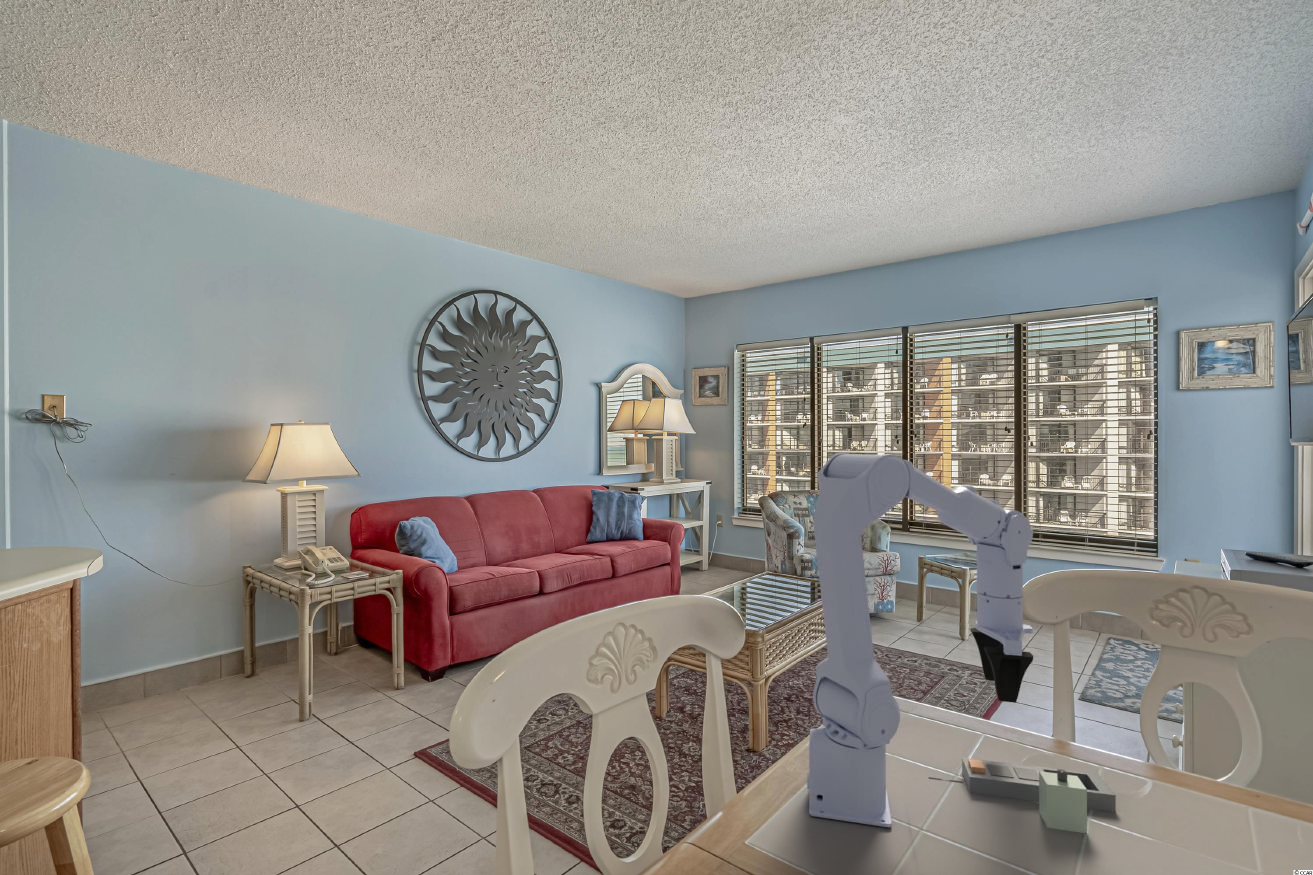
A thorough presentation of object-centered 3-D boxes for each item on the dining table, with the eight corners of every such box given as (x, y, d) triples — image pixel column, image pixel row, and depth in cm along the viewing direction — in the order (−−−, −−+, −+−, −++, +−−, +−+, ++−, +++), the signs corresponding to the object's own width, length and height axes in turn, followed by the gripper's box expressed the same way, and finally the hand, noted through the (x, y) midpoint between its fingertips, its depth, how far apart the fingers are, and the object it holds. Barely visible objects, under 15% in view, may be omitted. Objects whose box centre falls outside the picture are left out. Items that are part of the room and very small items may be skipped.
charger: (1047, 836, 74) (1047, 775, 74) (1039, 821, 76) (1039, 762, 76) (1087, 842, 72) (1086, 780, 72) (1077, 826, 75) (1077, 767, 75)
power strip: (931, 795, 82) (931, 767, 82) (926, 775, 87) (925, 748, 87) (1115, 819, 76) (1115, 789, 76) (1099, 797, 81) (1098, 769, 81)
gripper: (1048, 608, 82) (1048, 714, 82) (1016, 583, 96) (1017, 674, 96) (987, 605, 84) (988, 708, 84) (965, 581, 98) (966, 669, 98)
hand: (1000, 690), depth 90 cm, fingers open, 7 cm apart
